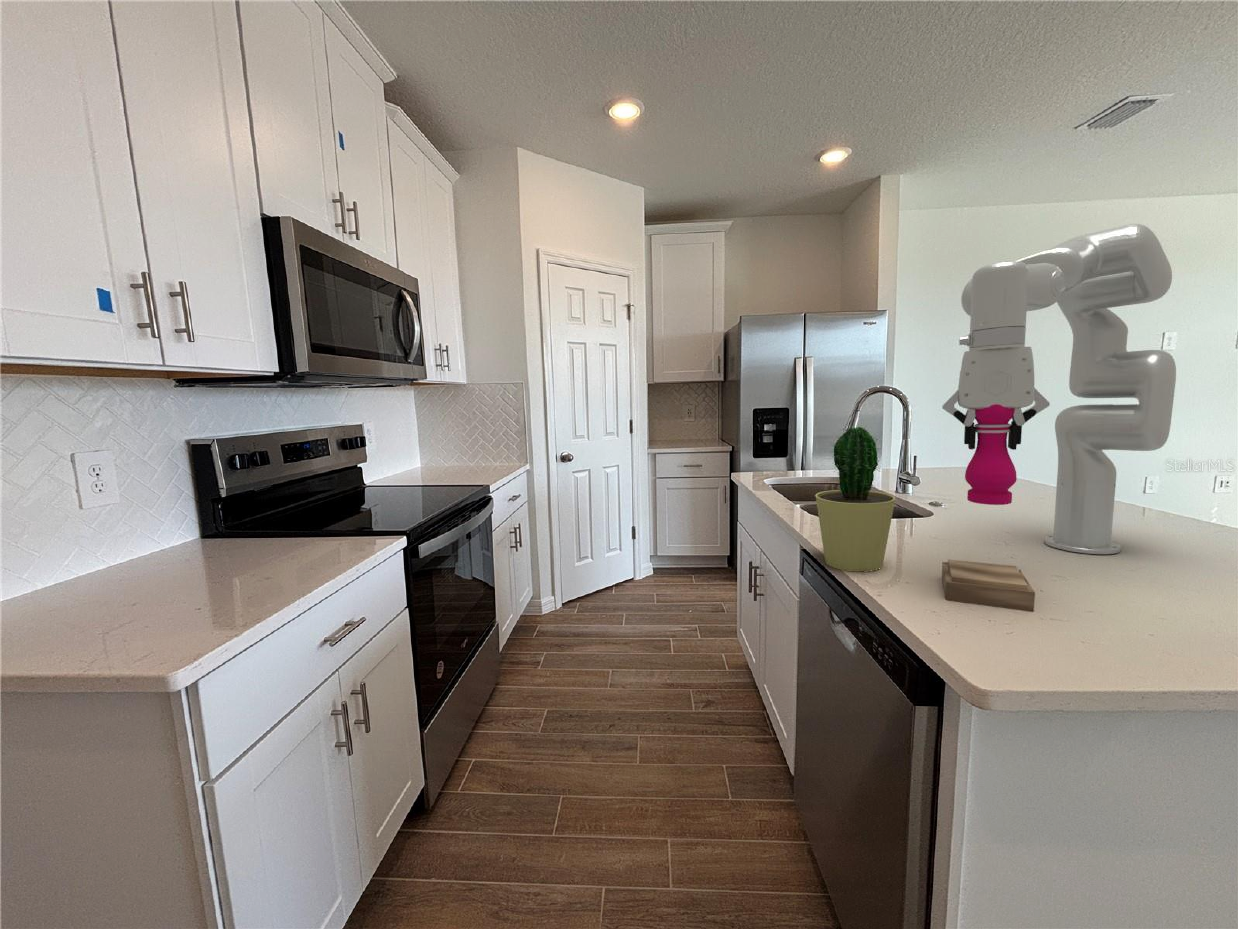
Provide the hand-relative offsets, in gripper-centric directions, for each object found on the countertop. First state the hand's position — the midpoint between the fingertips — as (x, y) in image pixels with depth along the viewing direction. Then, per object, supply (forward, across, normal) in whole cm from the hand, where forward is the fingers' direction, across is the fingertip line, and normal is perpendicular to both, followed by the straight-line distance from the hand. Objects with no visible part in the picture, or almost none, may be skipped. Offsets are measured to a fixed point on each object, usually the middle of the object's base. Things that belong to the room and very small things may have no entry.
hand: (991, 447), depth 87 cm
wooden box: (+26, 0, 0) cm, 26 cm away
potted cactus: (+26, -22, +9) cm, 36 cm away
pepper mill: (+10, 0, 0) cm, 10 cm away
